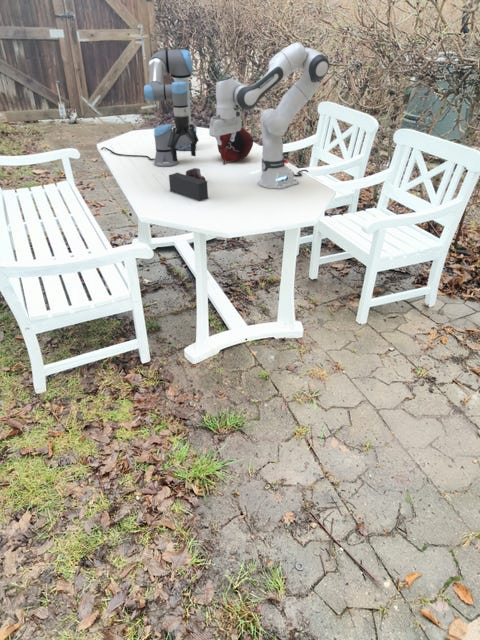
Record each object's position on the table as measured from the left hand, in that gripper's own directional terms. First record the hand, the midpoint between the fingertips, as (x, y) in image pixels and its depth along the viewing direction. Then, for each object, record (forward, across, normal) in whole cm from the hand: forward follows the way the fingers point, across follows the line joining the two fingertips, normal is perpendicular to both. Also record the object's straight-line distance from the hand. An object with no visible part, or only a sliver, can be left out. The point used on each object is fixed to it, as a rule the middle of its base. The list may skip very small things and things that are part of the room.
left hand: (184, 158), depth 243 cm
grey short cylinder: (+16, +61, +68) cm, 93 cm away
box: (+17, -6, -8) cm, 19 cm away
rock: (+17, +11, +4) cm, 20 cm away
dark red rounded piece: (+16, +63, +20) cm, 68 cm away
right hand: (-9, +10, -22) cm, 26 cm away
